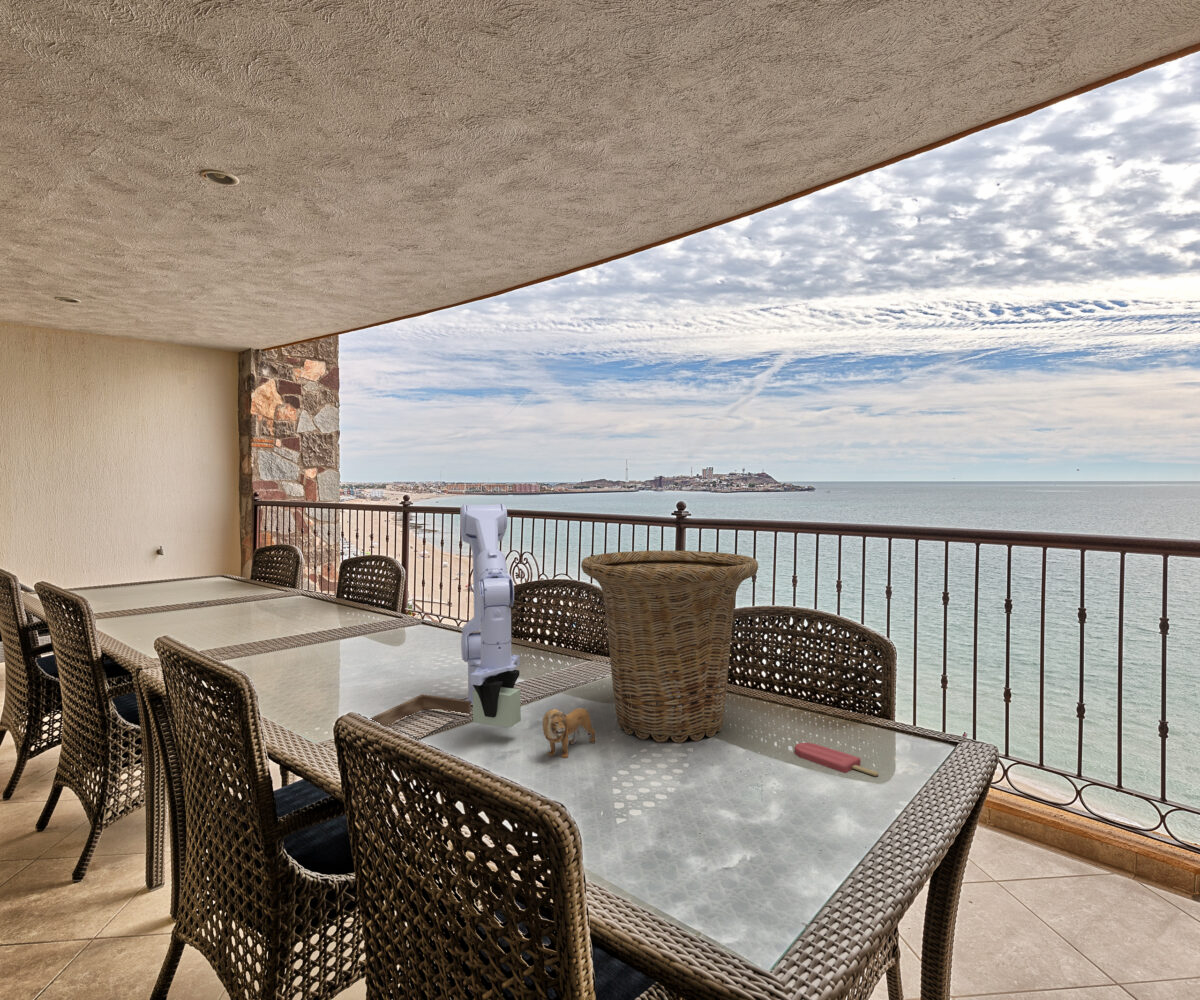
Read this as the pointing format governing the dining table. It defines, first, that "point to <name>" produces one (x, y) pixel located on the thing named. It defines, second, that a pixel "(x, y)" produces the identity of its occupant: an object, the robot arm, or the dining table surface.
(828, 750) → the popsicle
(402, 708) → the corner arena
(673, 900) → the dining table surface
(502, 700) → the sage block
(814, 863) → the dining table surface
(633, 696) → the wicker basket
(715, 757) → the dining table surface
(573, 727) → the lion figurine
